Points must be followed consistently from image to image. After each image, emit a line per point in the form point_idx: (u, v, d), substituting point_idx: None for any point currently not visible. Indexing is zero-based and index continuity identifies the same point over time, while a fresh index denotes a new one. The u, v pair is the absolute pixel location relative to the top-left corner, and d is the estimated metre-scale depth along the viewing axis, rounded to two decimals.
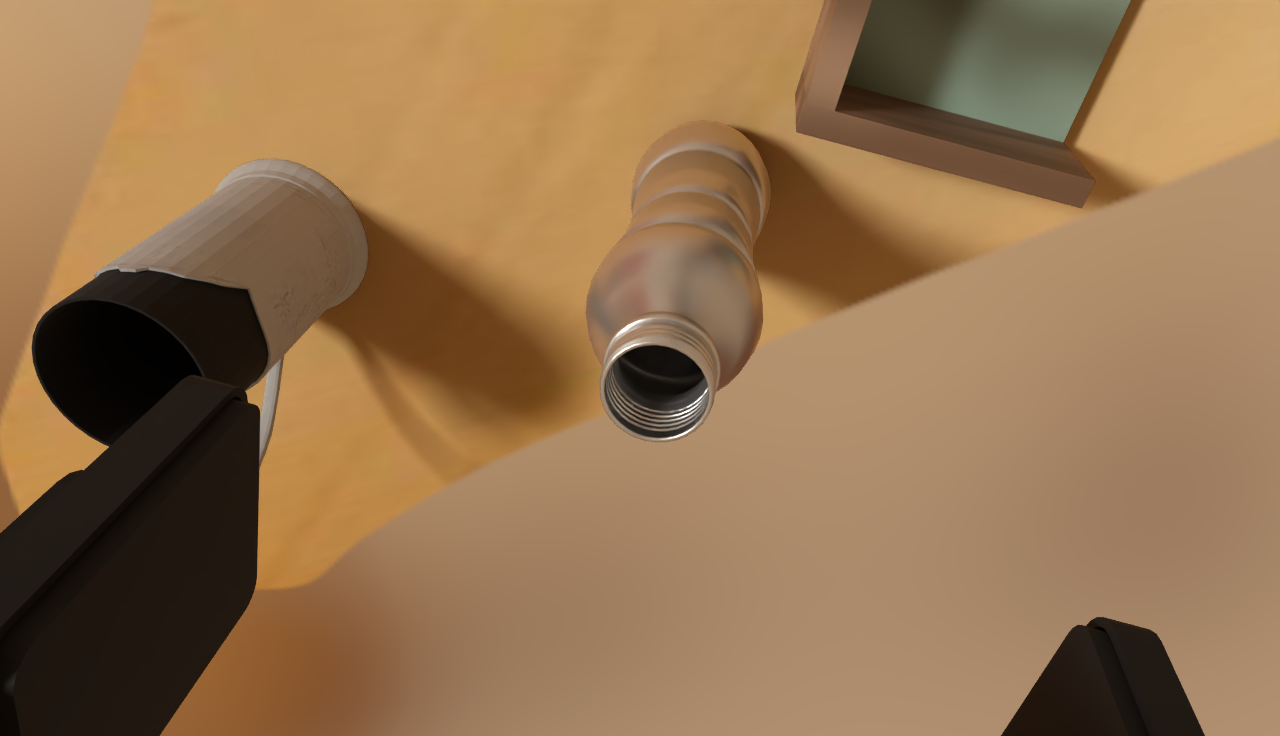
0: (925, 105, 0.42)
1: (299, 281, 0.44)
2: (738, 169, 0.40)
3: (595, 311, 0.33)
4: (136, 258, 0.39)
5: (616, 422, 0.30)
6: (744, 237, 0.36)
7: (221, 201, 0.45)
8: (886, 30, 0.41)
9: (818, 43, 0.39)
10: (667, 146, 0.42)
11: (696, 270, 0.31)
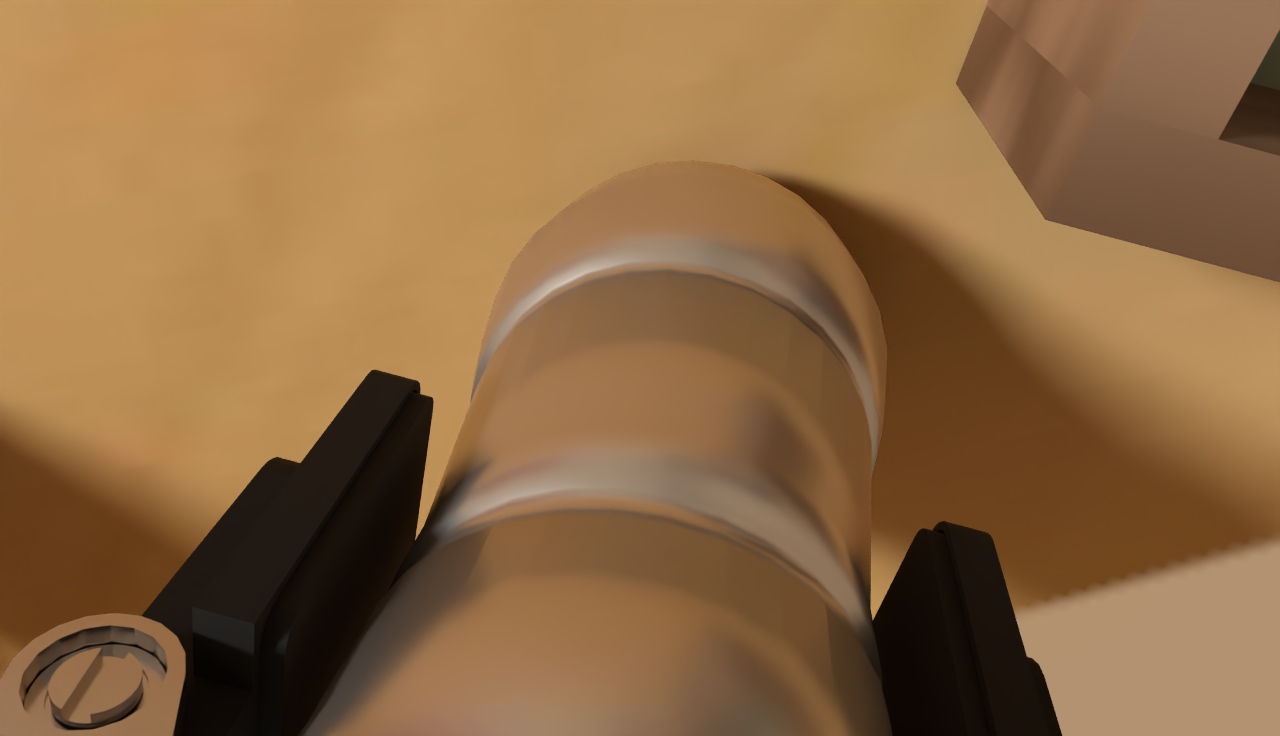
0: None
1: None
2: (806, 337, 0.12)
3: None
4: None
5: None
6: None
7: None
8: None
9: None
10: (571, 248, 0.13)
11: None
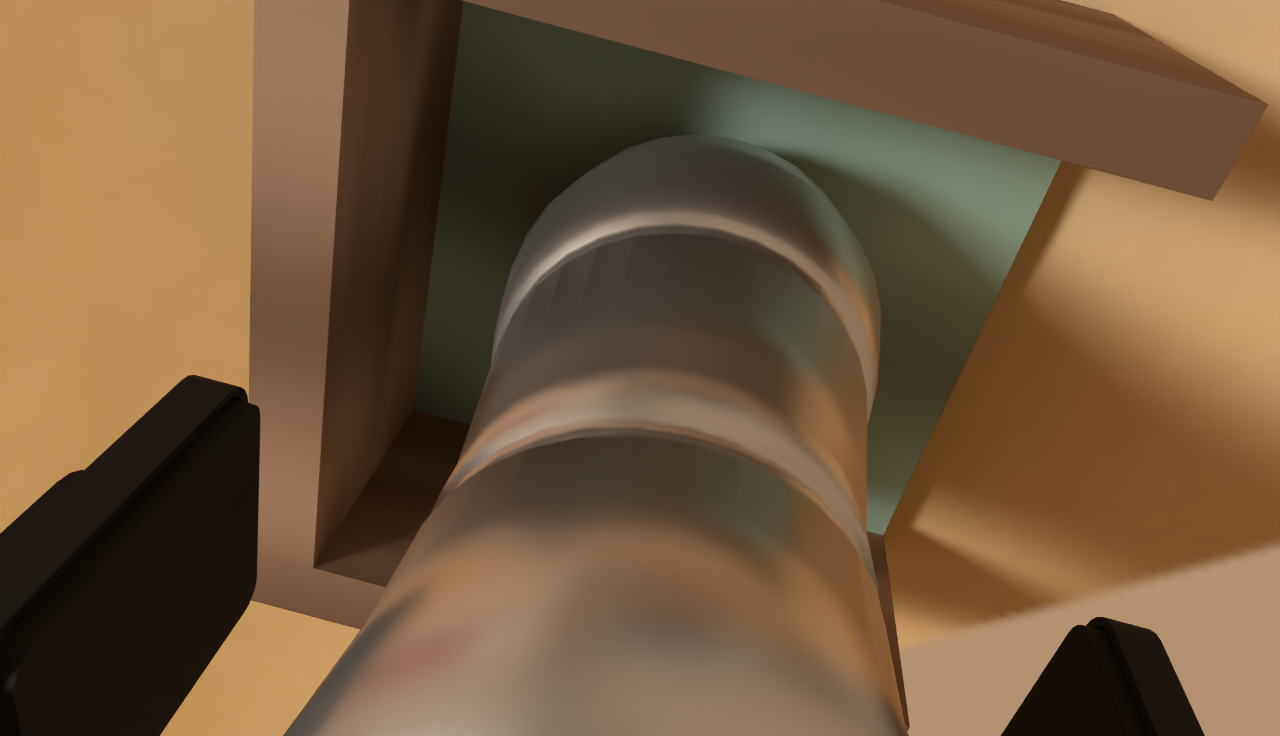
0: None
1: None
2: (805, 292, 0.13)
3: None
4: None
5: None
6: (876, 659, 0.08)
7: None
8: None
9: None
10: (585, 214, 0.14)
11: None
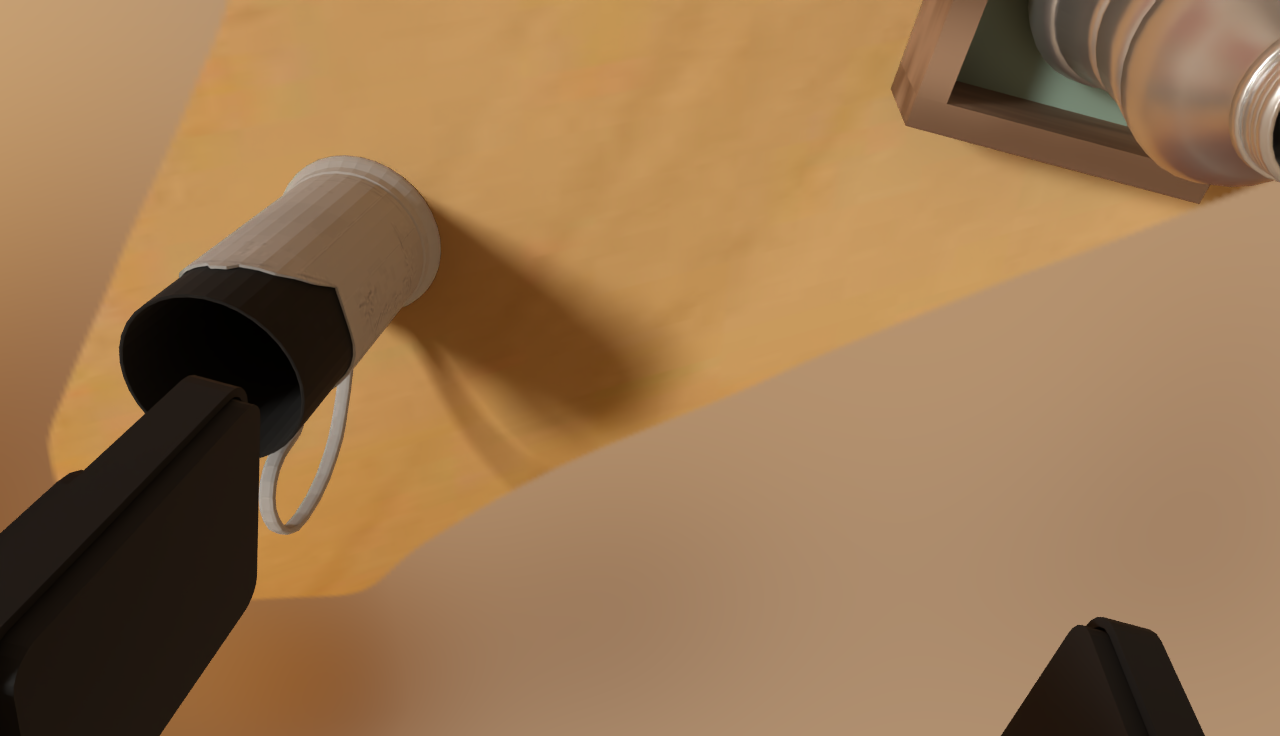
0: (1027, 99, 0.41)
1: (381, 280, 0.43)
2: None
3: (1177, 52, 0.25)
4: (224, 255, 0.38)
5: (1277, 168, 0.22)
6: None
7: (300, 198, 0.44)
8: (990, 22, 0.40)
9: (926, 35, 0.38)
10: None
11: None
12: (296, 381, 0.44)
